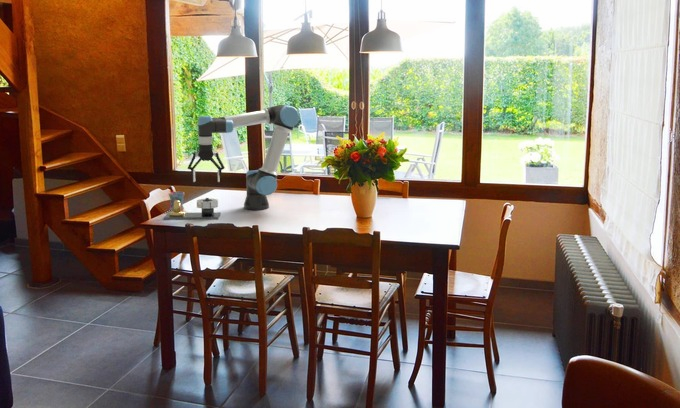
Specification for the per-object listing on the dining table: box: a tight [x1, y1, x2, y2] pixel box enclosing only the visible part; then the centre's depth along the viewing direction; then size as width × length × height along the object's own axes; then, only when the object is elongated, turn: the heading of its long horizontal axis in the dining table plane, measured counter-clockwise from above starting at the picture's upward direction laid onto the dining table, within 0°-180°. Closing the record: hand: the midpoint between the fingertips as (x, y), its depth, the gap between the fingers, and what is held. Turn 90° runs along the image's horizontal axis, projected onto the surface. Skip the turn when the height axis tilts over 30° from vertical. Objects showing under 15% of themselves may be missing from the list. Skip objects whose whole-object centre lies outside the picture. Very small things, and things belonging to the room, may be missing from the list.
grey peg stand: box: [163, 197, 222, 221], centre depth 382 cm, size 30×13×11 cm, turn 94°
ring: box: [196, 198, 219, 209], centre depth 382 cm, size 12×12×4 cm
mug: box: [167, 191, 186, 211], centre depth 401 cm, size 12×9×11 cm
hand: (206, 181), depth 380 cm, fingers open, 13 cm apart
